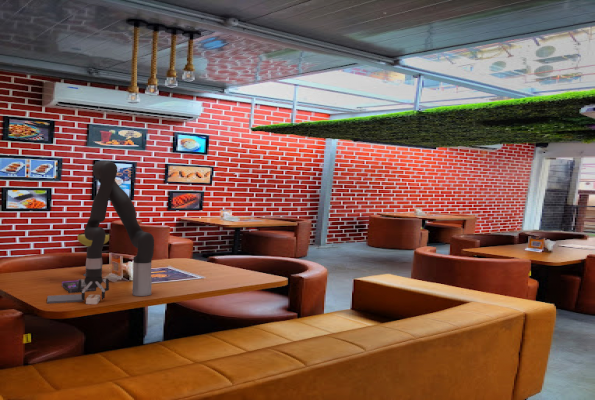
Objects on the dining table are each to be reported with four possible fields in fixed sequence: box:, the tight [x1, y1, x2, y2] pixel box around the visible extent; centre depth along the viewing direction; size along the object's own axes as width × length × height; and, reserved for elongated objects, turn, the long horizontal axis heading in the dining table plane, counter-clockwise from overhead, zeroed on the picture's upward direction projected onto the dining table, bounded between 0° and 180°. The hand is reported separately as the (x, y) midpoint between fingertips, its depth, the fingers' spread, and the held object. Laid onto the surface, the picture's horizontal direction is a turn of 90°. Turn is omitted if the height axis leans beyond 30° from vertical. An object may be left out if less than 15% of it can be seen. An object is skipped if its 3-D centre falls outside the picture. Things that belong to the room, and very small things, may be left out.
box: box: [61, 279, 97, 294], centre depth 289 cm, size 14×4×20 cm
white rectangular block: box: [85, 294, 101, 305], centre depth 261 cm, size 8×5×3 cm, turn 10°
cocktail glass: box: [77, 232, 110, 277], centre depth 326 cm, size 18×18×25 cm
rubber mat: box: [46, 293, 84, 304], centre depth 264 cm, size 16×12×1 cm
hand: (93, 299), depth 261 cm, fingers open, 8 cm apart
